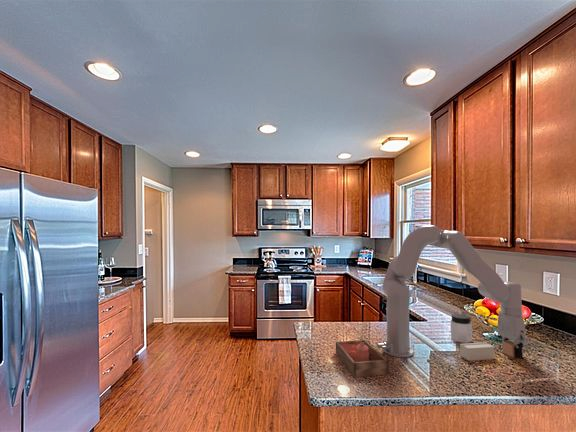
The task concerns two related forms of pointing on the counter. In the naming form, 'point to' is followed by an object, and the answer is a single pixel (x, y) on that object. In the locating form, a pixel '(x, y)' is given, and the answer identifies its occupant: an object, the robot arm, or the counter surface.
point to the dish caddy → (367, 367)
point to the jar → (461, 328)
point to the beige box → (477, 351)
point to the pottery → (357, 351)
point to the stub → (509, 348)
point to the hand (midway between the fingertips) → (512, 353)
